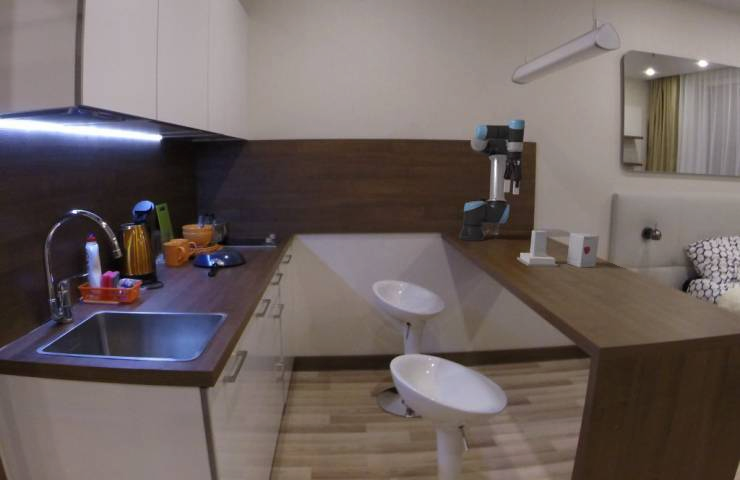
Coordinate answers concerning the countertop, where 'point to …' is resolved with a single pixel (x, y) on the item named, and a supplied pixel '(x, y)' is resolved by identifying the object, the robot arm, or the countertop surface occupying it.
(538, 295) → the countertop surface
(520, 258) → the podium
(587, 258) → the supplement box
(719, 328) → the countertop surface
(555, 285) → the countertop surface
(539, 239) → the skincare box
